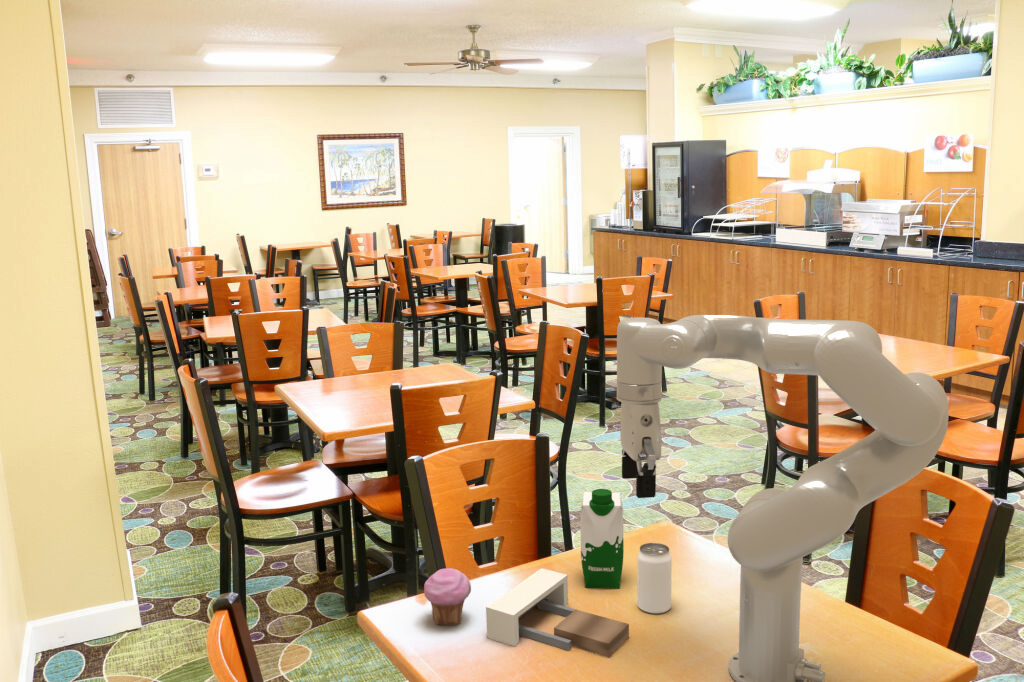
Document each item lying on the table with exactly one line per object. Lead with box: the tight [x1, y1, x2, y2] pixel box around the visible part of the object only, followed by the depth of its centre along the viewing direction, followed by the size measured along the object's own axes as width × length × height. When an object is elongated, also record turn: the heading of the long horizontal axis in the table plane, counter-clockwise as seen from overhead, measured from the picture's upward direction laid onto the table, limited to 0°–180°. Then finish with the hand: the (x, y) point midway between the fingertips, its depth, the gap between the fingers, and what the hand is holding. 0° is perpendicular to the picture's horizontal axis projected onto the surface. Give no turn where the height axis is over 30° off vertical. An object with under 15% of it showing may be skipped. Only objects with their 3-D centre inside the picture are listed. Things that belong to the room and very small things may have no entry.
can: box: [636, 542, 673, 615], centre depth 167 cm, size 6×6×12 cm
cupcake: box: [423, 567, 472, 626], centre depth 164 cm, size 9×9×10 cm
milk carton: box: [580, 488, 625, 589], centre depth 178 cm, size 9×9×20 cm
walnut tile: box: [553, 608, 630, 658], centre depth 156 cm, size 11×8×3 cm
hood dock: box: [485, 567, 575, 652], centre depth 161 cm, size 15×19×6 cm
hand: (638, 487), depth 150 cm, fingers open, 9 cm apart
